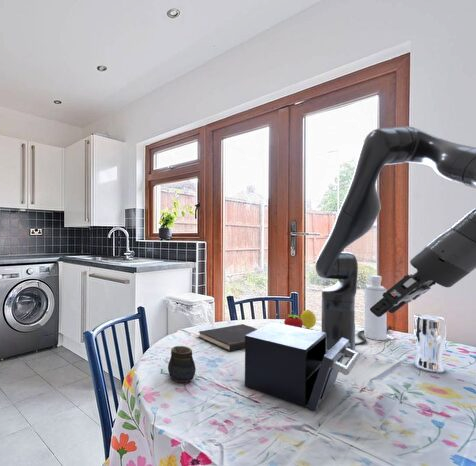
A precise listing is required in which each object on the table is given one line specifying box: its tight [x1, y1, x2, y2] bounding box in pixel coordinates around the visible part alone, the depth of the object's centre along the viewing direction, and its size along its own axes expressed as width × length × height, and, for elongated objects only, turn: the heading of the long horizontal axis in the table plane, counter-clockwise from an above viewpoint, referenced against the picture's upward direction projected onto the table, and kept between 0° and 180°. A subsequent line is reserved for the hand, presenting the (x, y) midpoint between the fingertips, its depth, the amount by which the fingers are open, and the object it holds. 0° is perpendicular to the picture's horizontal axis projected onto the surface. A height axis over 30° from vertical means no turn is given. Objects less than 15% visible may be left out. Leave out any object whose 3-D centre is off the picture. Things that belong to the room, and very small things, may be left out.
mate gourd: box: [167, 345, 197, 384], centre depth 84 cm, size 7×8×10 cm
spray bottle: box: [363, 275, 388, 341], centre depth 120 cm, size 7×7×25 cm
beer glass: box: [412, 313, 447, 374], centre depth 92 cm, size 7×7×15 cm
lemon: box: [299, 309, 317, 329], centre depth 130 cm, size 6×6×8 cm
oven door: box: [306, 337, 361, 412], centre depth 74 cm, size 5×18×13 cm, turn 135°
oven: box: [244, 321, 327, 409], centre depth 82 cm, size 14×18×13 cm
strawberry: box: [283, 312, 303, 328], centre depth 120 cm, size 6×8×10 cm
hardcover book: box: [197, 323, 258, 352], centre depth 116 cm, size 16×23×2 cm
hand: (380, 311), depth 68 cm, fingers open, 8 cm apart
